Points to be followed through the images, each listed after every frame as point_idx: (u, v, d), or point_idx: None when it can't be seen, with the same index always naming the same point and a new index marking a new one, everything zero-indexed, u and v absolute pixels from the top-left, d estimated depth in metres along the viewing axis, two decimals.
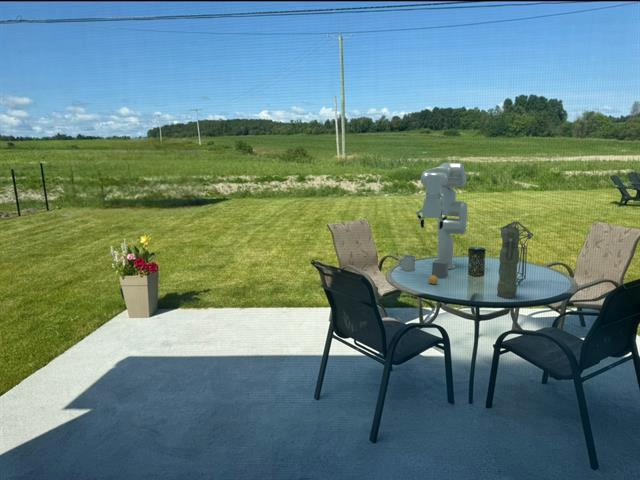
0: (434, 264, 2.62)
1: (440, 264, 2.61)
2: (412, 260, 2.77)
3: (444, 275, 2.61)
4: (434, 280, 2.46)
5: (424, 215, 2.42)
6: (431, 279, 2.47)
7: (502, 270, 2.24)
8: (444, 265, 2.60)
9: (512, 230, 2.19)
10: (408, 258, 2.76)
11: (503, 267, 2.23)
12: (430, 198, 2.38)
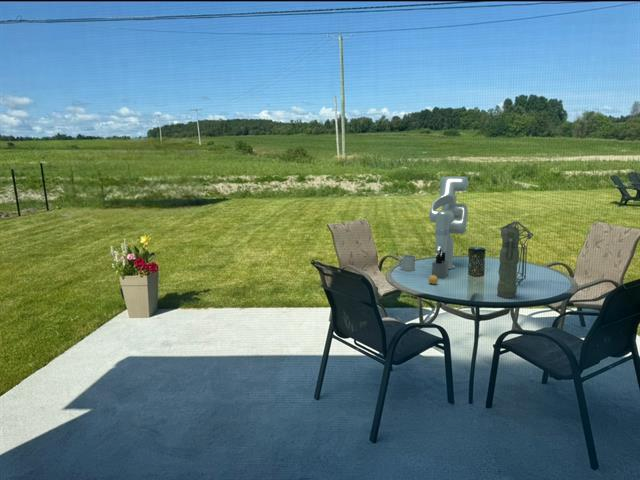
0: (434, 264, 2.62)
1: (440, 264, 2.61)
2: (412, 260, 2.77)
3: (444, 275, 2.61)
4: (434, 280, 2.46)
5: (443, 251, 2.58)
6: (431, 279, 2.47)
7: (502, 270, 2.24)
8: (444, 265, 2.60)
9: (512, 230, 2.19)
10: (408, 258, 2.76)
11: (503, 267, 2.23)
12: (448, 234, 2.59)
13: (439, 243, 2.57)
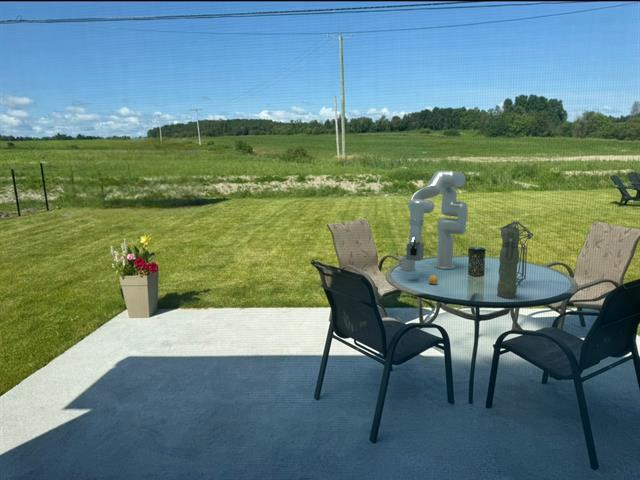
0: (408, 246, 2.50)
1: None
2: (412, 260, 2.77)
3: (419, 257, 2.49)
4: (434, 280, 2.46)
5: (417, 242, 2.48)
6: (431, 279, 2.47)
7: (502, 270, 2.24)
8: (419, 247, 2.48)
9: (512, 230, 2.19)
10: None
11: (503, 267, 2.23)
12: (422, 224, 2.49)
13: (414, 234, 2.47)
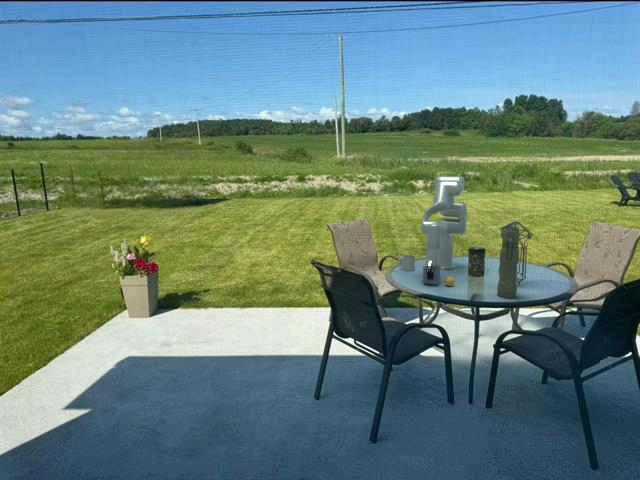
0: (425, 269, 2.46)
1: None
2: (412, 260, 2.77)
3: (436, 281, 2.44)
4: (446, 282, 2.43)
5: (434, 265, 2.43)
6: (449, 284, 2.43)
7: (502, 270, 2.24)
8: (436, 270, 2.43)
9: (512, 230, 2.19)
10: (408, 258, 2.76)
11: (503, 267, 2.23)
12: (439, 248, 2.44)
13: (430, 258, 2.42)
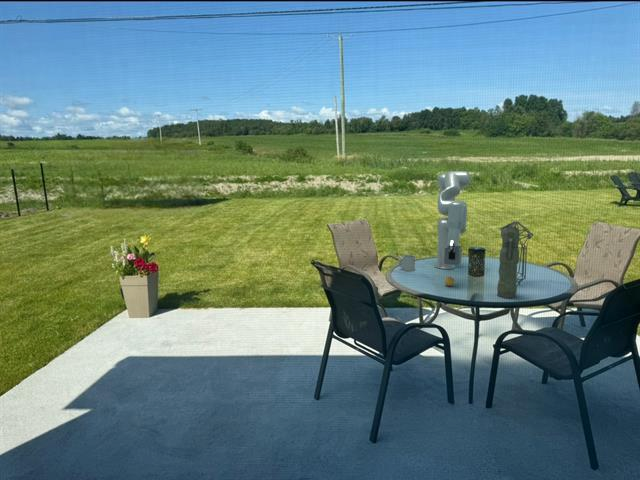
0: (446, 249, 2.39)
1: None
2: (412, 260, 2.77)
3: (457, 261, 2.37)
4: (446, 282, 2.43)
5: (456, 245, 2.37)
6: (449, 284, 2.43)
7: (502, 270, 2.24)
8: (458, 250, 2.36)
9: (512, 230, 2.19)
10: (408, 258, 2.76)
11: (503, 267, 2.23)
12: (461, 227, 2.37)
13: (452, 237, 2.35)
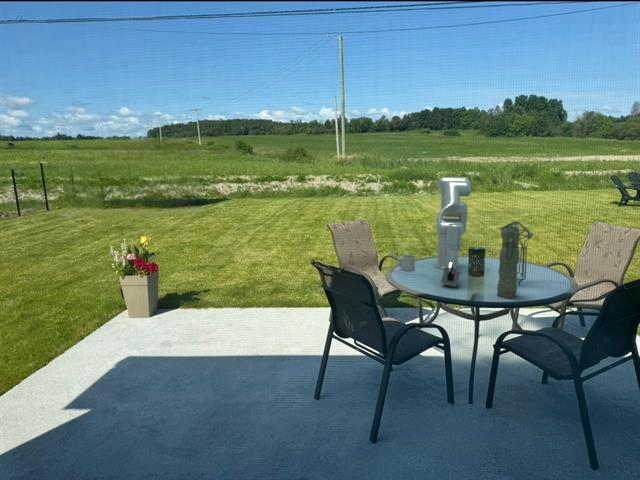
0: (446, 270, 2.40)
1: None
2: (412, 260, 2.77)
3: (454, 283, 2.40)
4: None
5: (455, 267, 2.38)
6: None
7: (502, 270, 2.24)
8: (457, 273, 2.38)
9: (512, 230, 2.19)
10: (408, 258, 2.76)
11: (503, 267, 2.23)
12: (460, 249, 2.39)
13: (451, 259, 2.37)
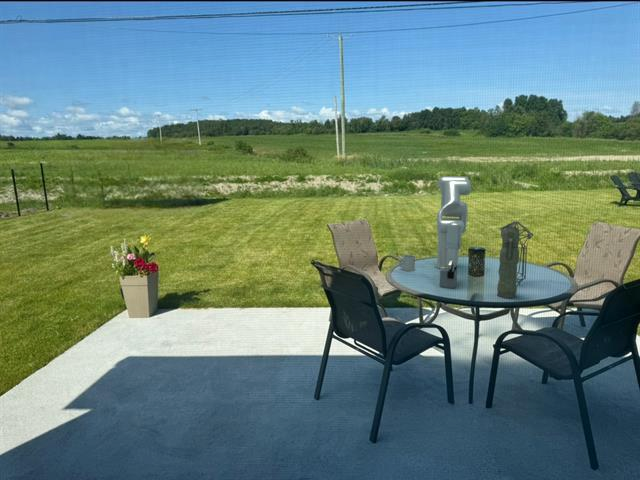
0: (442, 272, 2.42)
1: None
2: (412, 260, 2.77)
3: (453, 284, 2.40)
4: None
5: (455, 265, 2.39)
6: None
7: (502, 270, 2.24)
8: None
9: (512, 230, 2.19)
10: (408, 258, 2.76)
11: (503, 267, 2.23)
12: (460, 247, 2.39)
13: (451, 257, 2.38)
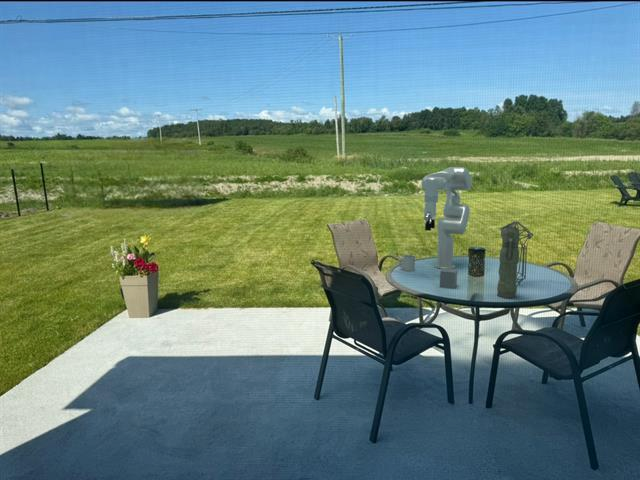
0: (442, 273, 2.41)
1: (449, 273, 2.40)
2: (412, 260, 2.77)
3: (453, 285, 2.40)
4: None
5: (432, 218, 2.54)
6: None
7: (502, 270, 2.24)
8: (453, 274, 2.39)
9: (512, 230, 2.19)
10: (408, 258, 2.76)
11: (503, 267, 2.23)
12: (437, 201, 2.54)
13: (429, 210, 2.53)
